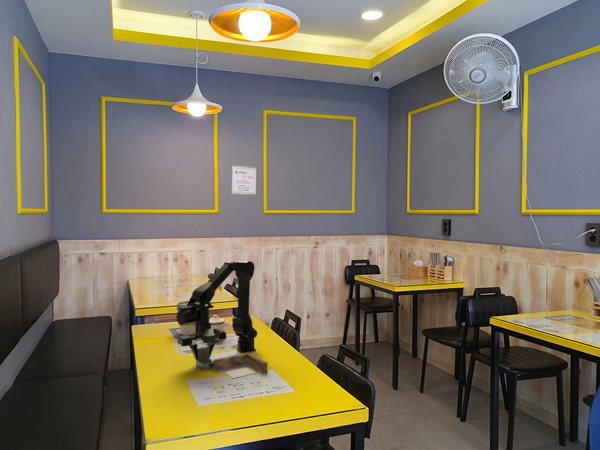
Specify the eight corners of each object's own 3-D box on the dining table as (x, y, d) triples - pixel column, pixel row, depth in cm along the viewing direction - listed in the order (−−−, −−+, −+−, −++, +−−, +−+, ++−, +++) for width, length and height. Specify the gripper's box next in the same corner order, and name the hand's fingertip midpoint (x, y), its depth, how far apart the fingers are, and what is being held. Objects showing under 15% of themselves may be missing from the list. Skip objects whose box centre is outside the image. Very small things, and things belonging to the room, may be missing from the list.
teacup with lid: (223, 335, 228) (223, 312, 228) (226, 340, 220) (226, 316, 219) (198, 338, 225) (198, 314, 224) (201, 343, 216) (200, 318, 216)
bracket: (196, 364, 186) (195, 347, 186) (207, 362, 189) (207, 345, 188) (204, 370, 179) (203, 352, 179) (215, 367, 182) (215, 350, 182)
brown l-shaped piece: (248, 362, 188) (248, 352, 188) (267, 372, 176) (267, 362, 176) (213, 369, 180) (213, 359, 180) (231, 381, 167) (231, 370, 167)
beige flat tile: (246, 367, 182) (246, 367, 182) (256, 373, 176) (256, 372, 176) (224, 372, 176) (224, 372, 176) (233, 378, 170) (233, 378, 170)
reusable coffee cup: (199, 335, 229) (198, 305, 229) (174, 336, 229) (173, 305, 229) (204, 329, 242) (204, 300, 241) (180, 329, 242) (180, 300, 241)
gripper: (187, 328, 174) (188, 369, 174) (232, 320, 185) (232, 359, 185) (176, 322, 183) (177, 361, 184) (220, 315, 194) (220, 352, 194)
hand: (202, 358), depth 186 cm, fingers closed on bracket, 5 cm apart
